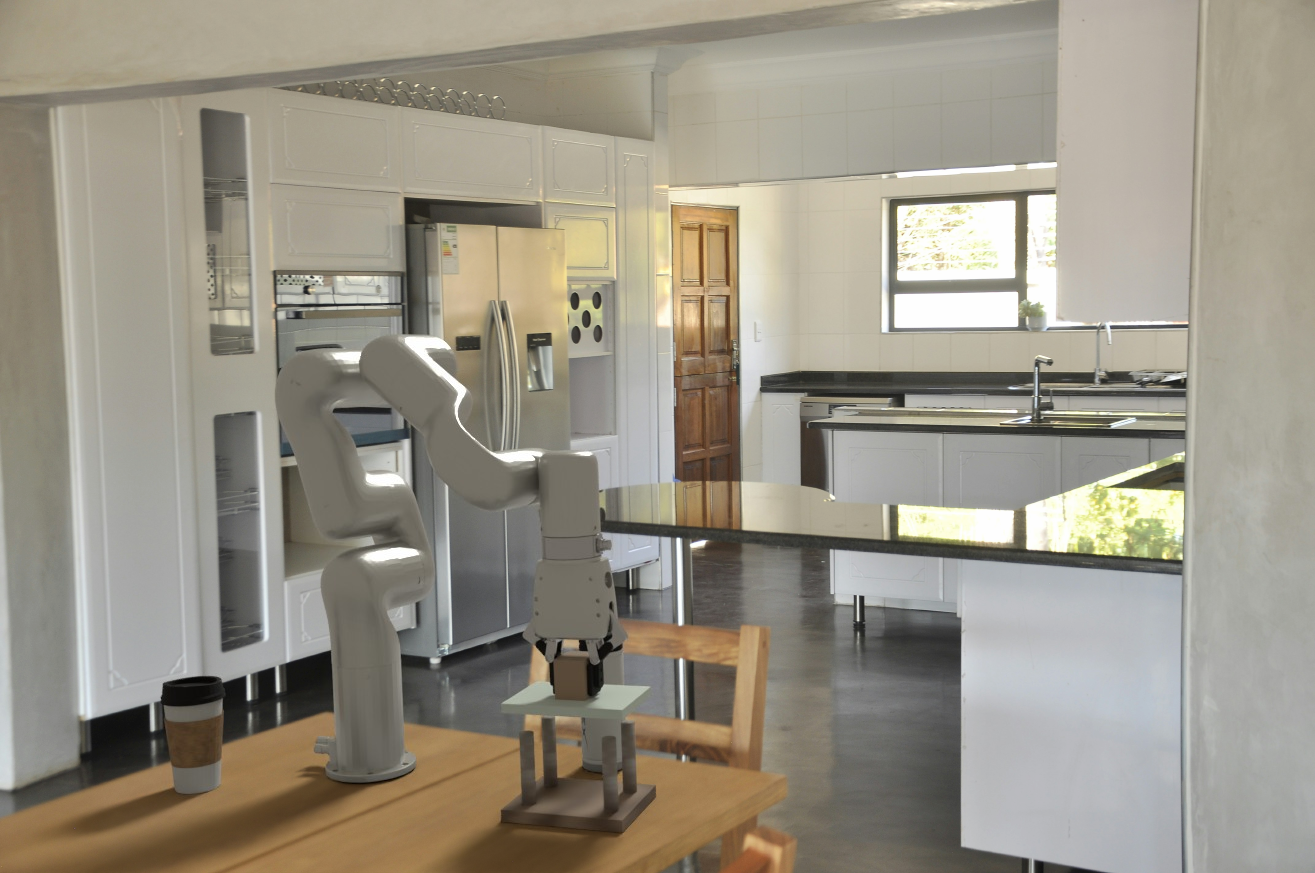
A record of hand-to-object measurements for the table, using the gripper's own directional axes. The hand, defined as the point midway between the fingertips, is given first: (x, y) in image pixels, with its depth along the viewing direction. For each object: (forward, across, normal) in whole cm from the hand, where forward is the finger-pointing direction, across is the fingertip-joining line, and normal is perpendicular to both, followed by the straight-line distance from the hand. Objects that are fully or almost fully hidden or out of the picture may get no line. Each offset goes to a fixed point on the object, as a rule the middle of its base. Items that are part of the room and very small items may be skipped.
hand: (577, 690), depth 158 cm
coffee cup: (+15, +55, +4) cm, 57 cm away
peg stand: (+15, 0, 0) cm, 15 cm away
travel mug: (+15, +3, -17) cm, 23 cm away
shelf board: (+2, 0, 0) cm, 2 cm away
